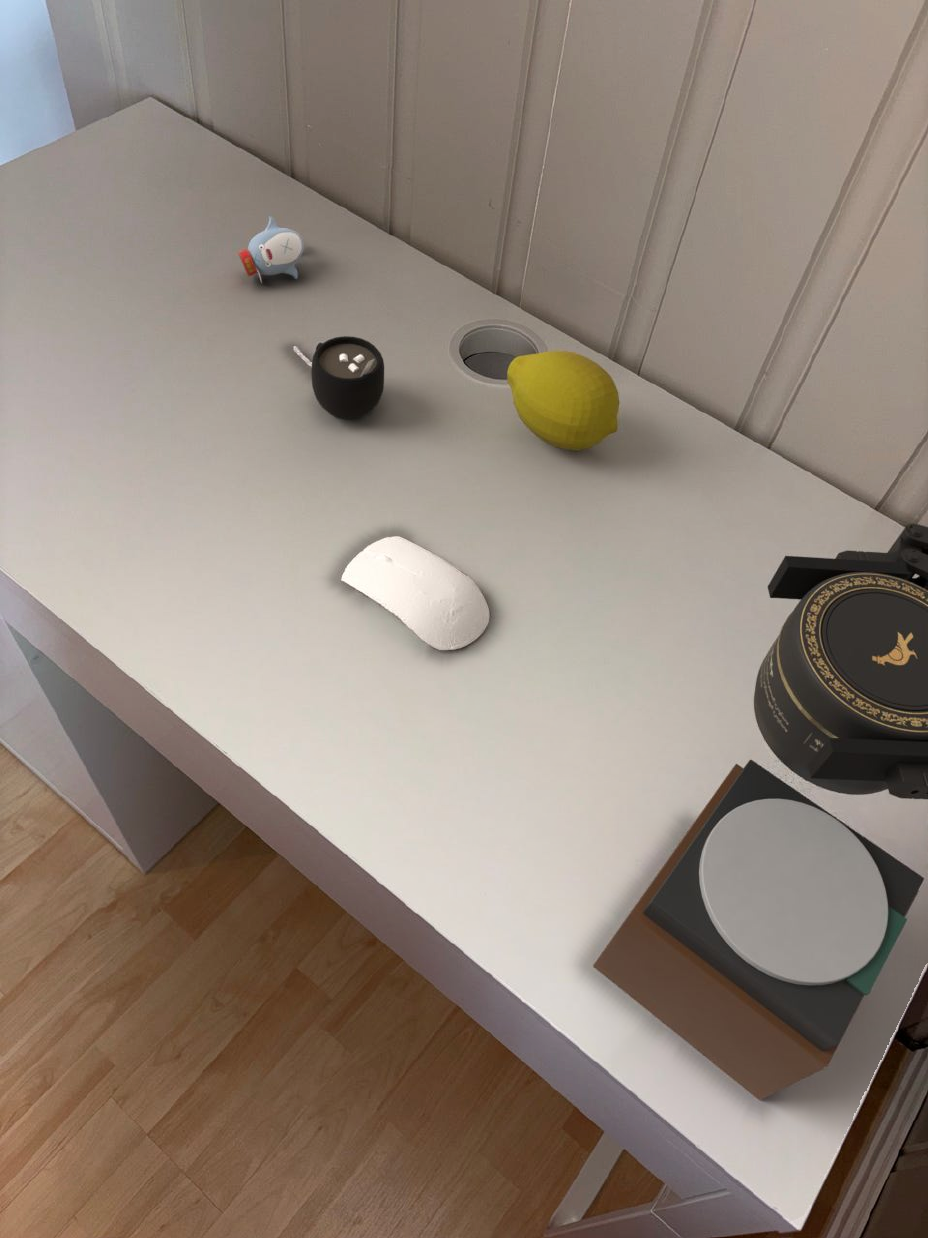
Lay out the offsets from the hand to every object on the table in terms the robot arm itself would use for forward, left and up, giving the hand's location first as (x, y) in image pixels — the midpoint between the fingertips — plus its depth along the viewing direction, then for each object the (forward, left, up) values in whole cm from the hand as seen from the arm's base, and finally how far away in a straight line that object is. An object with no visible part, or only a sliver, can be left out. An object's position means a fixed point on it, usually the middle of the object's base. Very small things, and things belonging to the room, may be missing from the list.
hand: (797, 662), depth 49 cm
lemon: (+37, -10, -22) cm, 44 cm away
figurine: (+67, +6, -22) cm, 71 cm away
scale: (-8, +2, -22) cm, 23 cm away
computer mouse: (+25, +9, -22) cm, 34 cm away
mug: (+49, +7, -22) cm, 54 cm away
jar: (-2, -4, -6) cm, 8 cm away
